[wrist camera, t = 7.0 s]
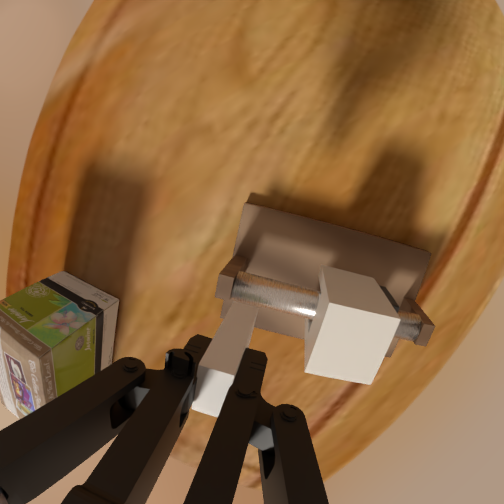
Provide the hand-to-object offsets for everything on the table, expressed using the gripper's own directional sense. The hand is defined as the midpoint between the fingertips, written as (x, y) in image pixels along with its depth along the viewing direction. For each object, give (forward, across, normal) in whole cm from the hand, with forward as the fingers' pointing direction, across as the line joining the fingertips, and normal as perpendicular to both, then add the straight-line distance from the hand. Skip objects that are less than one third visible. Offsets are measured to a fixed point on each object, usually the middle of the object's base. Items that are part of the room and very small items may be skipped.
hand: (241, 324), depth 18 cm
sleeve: (+10, +7, -1) cm, 12 cm away
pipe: (+9, +6, -1) cm, 11 cm away
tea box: (+13, -21, -16) cm, 30 cm away
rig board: (+13, +6, -1) cm, 15 cm away
